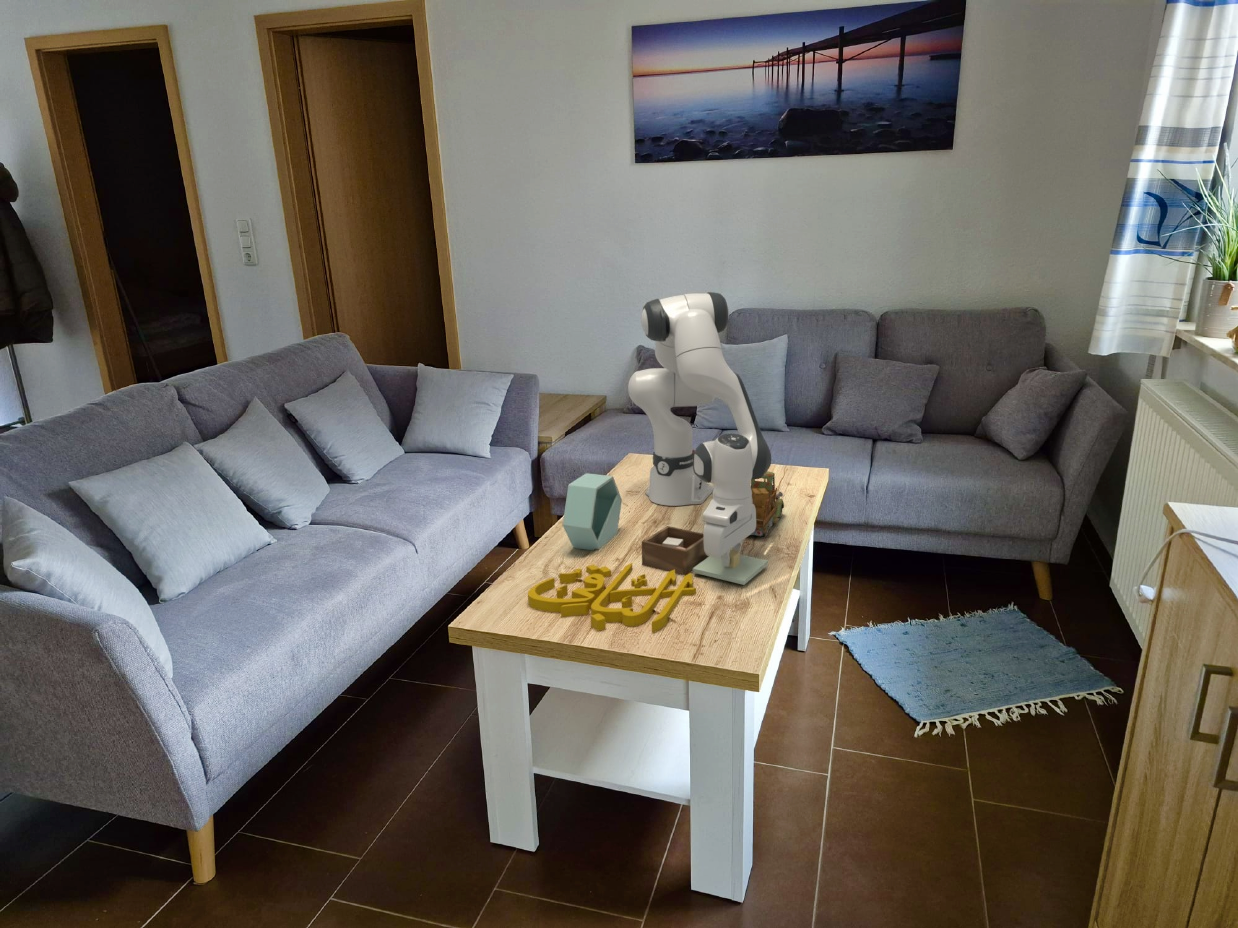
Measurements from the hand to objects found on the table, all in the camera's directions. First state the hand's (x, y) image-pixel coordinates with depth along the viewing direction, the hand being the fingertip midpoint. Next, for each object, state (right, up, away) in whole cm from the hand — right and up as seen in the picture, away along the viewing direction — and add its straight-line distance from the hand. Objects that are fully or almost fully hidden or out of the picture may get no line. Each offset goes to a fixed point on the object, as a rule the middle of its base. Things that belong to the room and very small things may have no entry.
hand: (730, 561), depth 197 cm
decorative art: (-27, -8, -9) cm, 30 cm away
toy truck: (+12, +5, +31) cm, 33 cm away
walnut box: (-12, -2, +8) cm, 14 cm away
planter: (-32, +2, +22) cm, 39 cm away
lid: (0, -2, +1) cm, 2 cm away
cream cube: (-13, 0, +10) cm, 16 cm away
